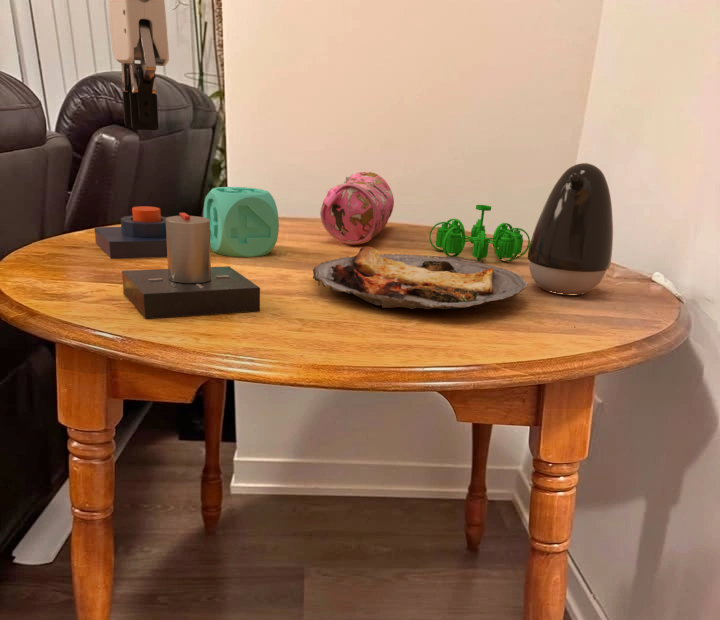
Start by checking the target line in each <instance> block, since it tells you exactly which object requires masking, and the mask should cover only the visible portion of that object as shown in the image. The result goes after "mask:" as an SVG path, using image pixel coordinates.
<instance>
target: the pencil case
mask: <svg viewBox="0 0 720 620" xmlns="http://www.w3.org/2000/svg"><path fill="white" fill-rule="evenodd" d="M326 192H327V193H326V195H325V197H324V199H323V201H322V205H321V208H320V211H319V212H320V214H319V215H320V220H321V223H322V226H323V227H324V229H325V230H326V232H327V233H328V234H329V235H330V236H331V237H332V238H333V239H335V240H336V241H338V242H340V243H342V244H344V245H350V246H352V245H353V246H355V245H356V246H357V245H362V244H366V243H368V242H370V241H371V240H372V239H373V238H374V237H376V236H377V235H379V233H380V232H382V230H383V229H384V228H385V227H386V226H387V224H388V221H389V219H390V218H391V217H392V215H393V210H394V207H395V198H394V194H393V192H392V188H391V187H390V185H389V183H388V182H387V181H386V180H385V179H384V178H383V177H382V176H380V175H379V174H377V173H375V172H371V171H360V172H356V173H354V174H350V176H345V180H344V182H343V183H341V184H337V185H335V186H334V187H331V188H330V189H328V190H327V191H326Z"/></svg>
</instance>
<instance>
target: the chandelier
mask: <svg viewBox="0 0 720 620" xmlns="http://www.w3.org/2000/svg"><path fill="white" fill-rule="evenodd" d="M475 210H477V211H481V213H480V218H479V219H478V218H477V221H476V223H475V224H473V225H472V228H471V230H470V236H469V235H466V230H465V226H464V224H463V222H462V221H461V220H460V219H458V218H450V219H448V220H447V221H440V222H437V223H436V224H434V225H433V226H432V227H431V228H430V231H429V237H428V239H429V243H430V245H431V246H432V248H433V249H434V250H436V251H438V252H443V253H444V254H445V255H446V257H458V256H459V255H461V253H462V252H463V251H464V248H465V245H466V243H468V242H470V244H472V252H471V255H472V257H474V258H476V261H479V263H480V262H482V259H486V258H487V257H488V252H489V245H492V247H493V249H494V253H495V256H496V257H497V259H498V260H500V259H505V260H506V261H509V262H512V261H513V260H515V259H516V258H517V257H516V256H517V255H521V256H520V257H522V256H524V255H525V254H526V253H528V252H527V251H528V250H529V246H530V243H531V238H530V236H529V234H528V232H527V231H526V230H525V229H523V228H522V227H521V228H520V227H513V226H512V225H511V224H510V223H508V222H502V223H500V224H499V225H497V227H496V228H495V230H494V232H493V235H492V237H486V236H487V234H486V226H485V225H484V217H485V212H490V211H492V206H491V205H486V204H476V205H475ZM439 225H441V226H440V227H438V226H439ZM436 227H437V231H436V237H435V245H434V243H433V241H432V237H431V236H432V232H433V230H434V229H435V228H436ZM521 232H523V233H524V234H525V235H526V237H527V241H528V242H527V246H526V248H525V250H524V251H523V252H522V250H523V245H524V237H523V234H522V233H521ZM451 254H452V255H451ZM512 256H513V257H512ZM515 257H516V258H515Z"/></svg>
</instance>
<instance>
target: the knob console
mask: <svg viewBox="0 0 720 620" xmlns="http://www.w3.org/2000/svg"><path fill="white" fill-rule="evenodd" d="M121 278H122V290H123V291H122V293H123V295H124V296H125V297H126V298H127V300H129V302H130V303H131V304H132V305H133V306H134V307H135V309H136V310H137V311H138V312H139V313H140V314H141V315H142V317H143V318H144V319H145V320H146V319H147V320H151V319H164V318H165V319H166V318H178V317H181V318H182V317H194V316H195V317H196V316H209V315H223V314H238V313H252V312H253V313H254V312H255V313H256V312H261V287H260V286H259V285H257V284H256V283H254V282H252V281H251V280H250V279H248V278H247V277H245V276H244V275H242V274H241V273H240V272H238V271H237V270H235V269H234V268H233V267H231V266H211V280H210V281H207V282H203V283H179V282H174V281H171V280H170V279H169V278H168V268H155V269H132V270H130V269H129V270H127V269H126V270H121Z"/></svg>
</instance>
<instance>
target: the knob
mask: <svg viewBox="0 0 720 620" xmlns="http://www.w3.org/2000/svg"><path fill="white" fill-rule="evenodd" d="M166 217H167V218H166V238H167V257H166V258H167V269H168V278H169V279H170V280H171V281H174V282H179V283H203V282H207V281H210V280H211V267H212V261H211V260H212V259H211V257H212V256H211V255H212V254H211V252H212V251H211V248H210V220H209V219H207V218H204V216H196V215H189V214H188V213H186V212H179V215H172V216H166Z"/></svg>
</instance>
